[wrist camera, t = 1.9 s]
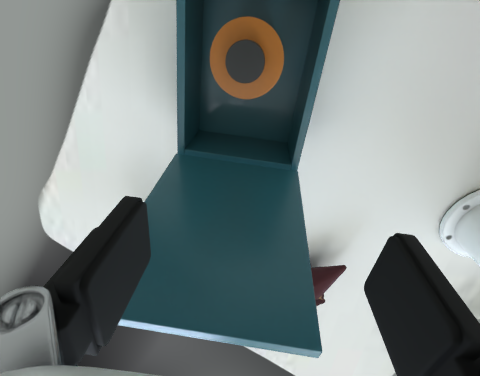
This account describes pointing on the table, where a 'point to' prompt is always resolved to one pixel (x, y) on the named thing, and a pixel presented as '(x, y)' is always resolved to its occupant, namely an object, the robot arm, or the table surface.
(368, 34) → the table surface
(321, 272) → the icecream
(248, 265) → the lid
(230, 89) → the bottle
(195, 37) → the teal box
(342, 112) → the table surface
